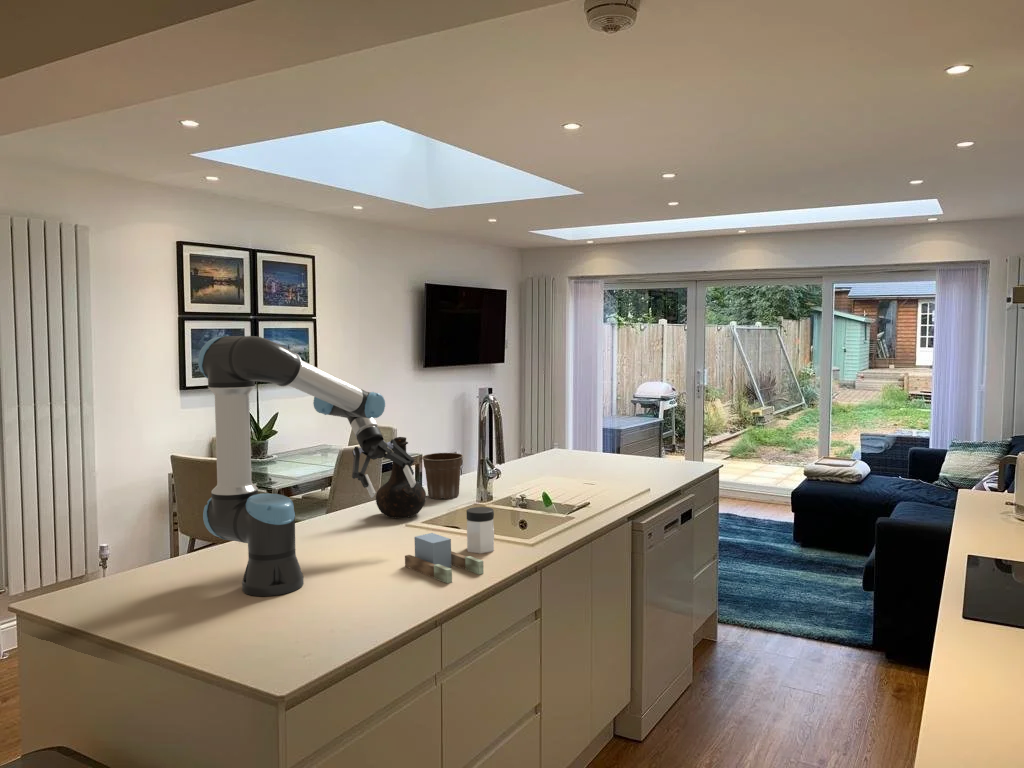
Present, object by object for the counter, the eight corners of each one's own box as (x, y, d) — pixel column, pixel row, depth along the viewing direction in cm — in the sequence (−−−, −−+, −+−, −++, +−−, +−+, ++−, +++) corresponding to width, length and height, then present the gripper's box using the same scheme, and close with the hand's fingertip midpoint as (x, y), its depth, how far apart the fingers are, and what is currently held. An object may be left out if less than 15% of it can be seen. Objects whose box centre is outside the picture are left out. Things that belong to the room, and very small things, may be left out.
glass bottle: (386, 524, 260) (384, 442, 258) (369, 513, 276) (367, 436, 274) (434, 517, 269) (432, 438, 267) (415, 507, 285) (413, 432, 283)
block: (415, 564, 215) (414, 536, 215) (432, 560, 219) (432, 532, 219) (433, 572, 209) (433, 543, 208) (451, 567, 212) (450, 539, 212)
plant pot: (446, 502, 292) (446, 460, 291) (414, 498, 301) (413, 457, 300) (472, 494, 306) (471, 454, 304) (440, 490, 314) (439, 451, 313)
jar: (494, 553, 225) (494, 513, 224) (466, 554, 224) (466, 513, 224) (494, 544, 234) (493, 506, 233) (467, 545, 233) (466, 506, 233)
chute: (405, 566, 214) (404, 553, 213) (440, 557, 222) (440, 545, 221) (447, 583, 199) (447, 570, 198) (483, 573, 206) (483, 560, 206)
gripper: (399, 432, 247) (425, 487, 238) (326, 446, 232) (352, 506, 223) (406, 418, 242) (433, 474, 233) (332, 432, 227) (359, 493, 218)
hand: (394, 490), depth 228 cm, fingers open, 13 cm apart
